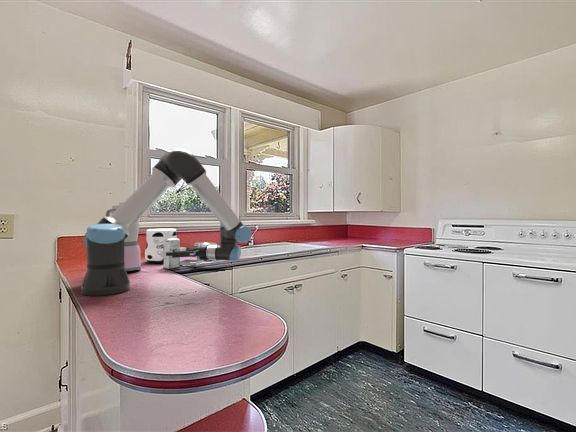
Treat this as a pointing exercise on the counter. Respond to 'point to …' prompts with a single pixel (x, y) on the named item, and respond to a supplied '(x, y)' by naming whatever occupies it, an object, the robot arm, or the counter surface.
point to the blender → (130, 245)
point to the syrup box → (170, 246)
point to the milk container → (157, 243)
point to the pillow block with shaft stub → (197, 245)
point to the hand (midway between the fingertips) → (167, 251)
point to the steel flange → (187, 262)
